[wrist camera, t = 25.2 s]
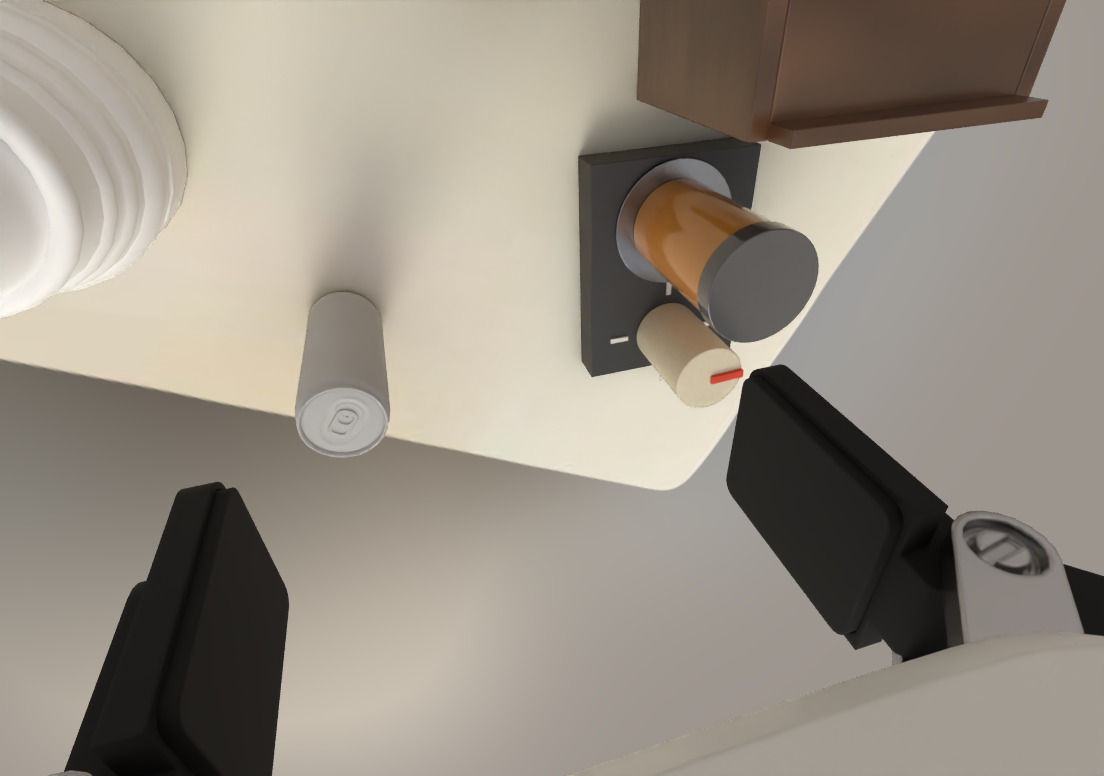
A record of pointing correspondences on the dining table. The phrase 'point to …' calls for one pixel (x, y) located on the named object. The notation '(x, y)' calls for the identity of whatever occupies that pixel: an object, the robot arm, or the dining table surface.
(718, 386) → the knob
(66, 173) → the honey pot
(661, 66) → the shelf
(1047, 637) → the robot arm
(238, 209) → the dining table surface
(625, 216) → the pale grey disc
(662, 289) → the hot plate
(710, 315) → the jar
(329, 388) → the beverage can
